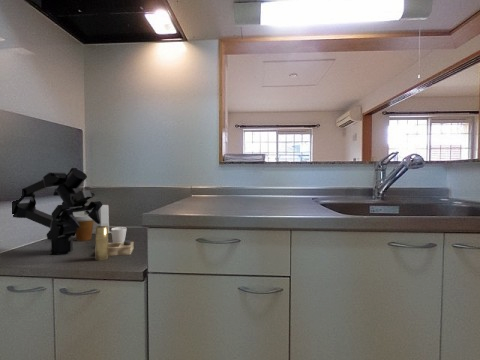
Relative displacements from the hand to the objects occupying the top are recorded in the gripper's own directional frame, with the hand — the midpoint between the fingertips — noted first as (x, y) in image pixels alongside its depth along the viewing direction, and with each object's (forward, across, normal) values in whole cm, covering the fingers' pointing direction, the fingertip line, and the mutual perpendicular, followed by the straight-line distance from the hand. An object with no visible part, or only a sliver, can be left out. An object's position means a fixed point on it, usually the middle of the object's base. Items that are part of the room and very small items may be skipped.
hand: (89, 225), depth 103 cm
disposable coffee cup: (-9, +19, +27) cm, 35 cm away
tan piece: (+13, 0, +4) cm, 14 cm away
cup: (+7, +16, +11) cm, 20 cm away
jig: (+12, +9, +5) cm, 16 cm away
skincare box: (-14, +33, +32) cm, 48 cm away
